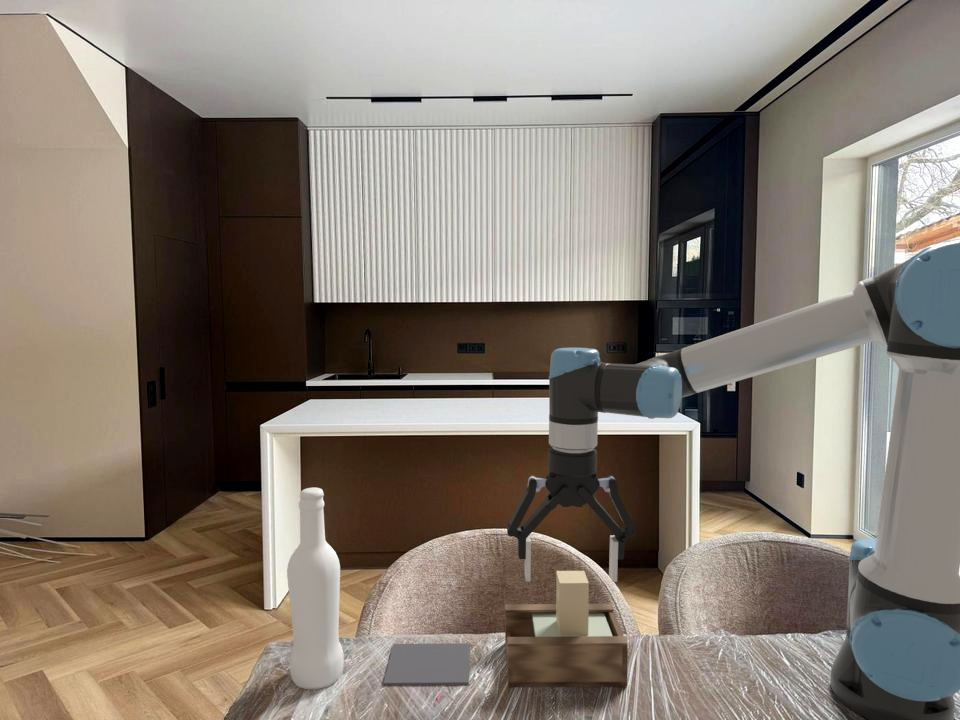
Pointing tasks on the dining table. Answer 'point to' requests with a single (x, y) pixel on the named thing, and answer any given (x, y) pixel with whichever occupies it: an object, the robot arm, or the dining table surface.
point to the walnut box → (563, 652)
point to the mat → (429, 664)
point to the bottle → (314, 600)
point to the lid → (571, 610)
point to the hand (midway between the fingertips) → (570, 578)
